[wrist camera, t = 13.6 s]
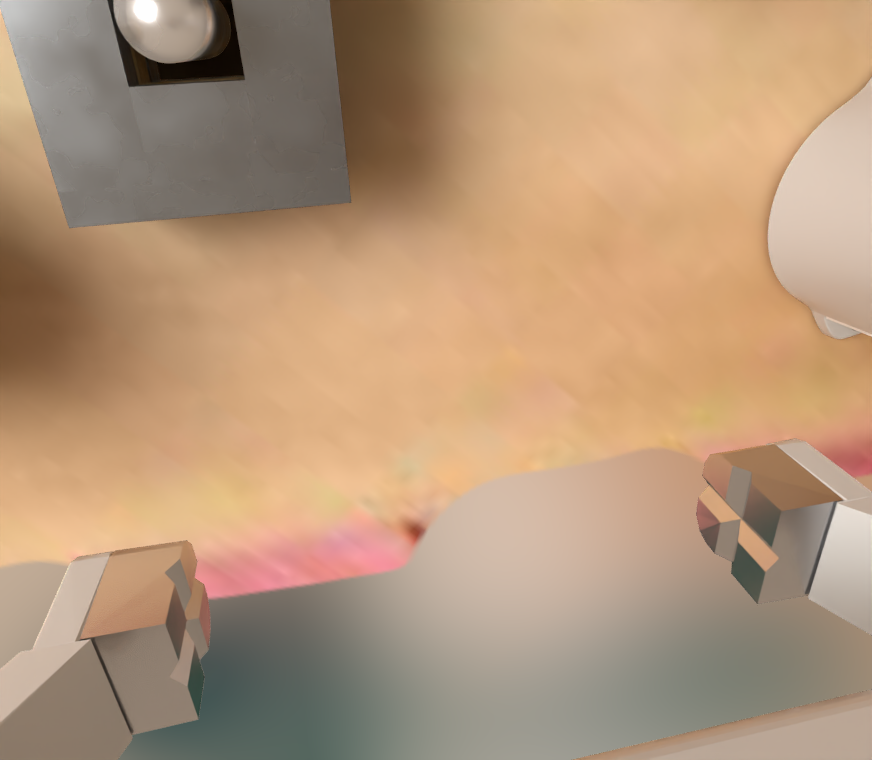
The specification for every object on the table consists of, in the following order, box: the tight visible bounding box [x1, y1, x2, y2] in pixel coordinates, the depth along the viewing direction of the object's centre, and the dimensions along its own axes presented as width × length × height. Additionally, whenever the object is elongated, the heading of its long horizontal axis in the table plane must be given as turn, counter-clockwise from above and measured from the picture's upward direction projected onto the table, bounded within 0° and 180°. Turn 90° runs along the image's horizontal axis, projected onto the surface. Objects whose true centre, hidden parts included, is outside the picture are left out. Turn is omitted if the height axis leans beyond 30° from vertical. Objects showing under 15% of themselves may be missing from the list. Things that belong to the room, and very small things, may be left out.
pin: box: [113, 0, 231, 63], centre depth 26 cm, size 3×3×10 cm
